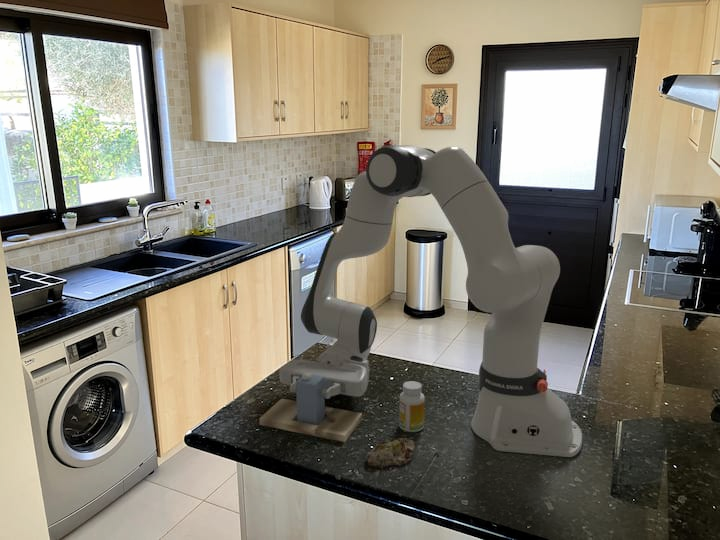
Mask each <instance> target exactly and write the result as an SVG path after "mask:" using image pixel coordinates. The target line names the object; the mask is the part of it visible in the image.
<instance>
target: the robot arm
mask: <svg viewBox="0 0 720 540" xmlns="http://www.w3.org/2000/svg"><path fill="white" fill-rule="evenodd" d="M429 195H431V196H433V197H434V199H435V201H436V202H437V204H438V206H439V208H440V209H441V210H442V213H443V215H444V217H445V218H446V219H447V221H448V223H449V225H450V226H451V227H452V230H453V231H454V233H455V235H456V237H457V239H458V240H459V243H460V246H461V247H462V251H463V254H464V257H465V263H466V266H467V276H466V280H465V290H466V294H467V297H468V299H469V301H470V302H471V303H472V305H474V307H475V308H477V309H478V310H480V311H482V312H484V313H489V314H491V315H490V317H489V319H488V321H487V323H486V325H485V327H484V331H483V343H482V344H483V345H482V362H481V363H480V365H479V370H478V391H479V393H478V399H477V402H476V403H477V404H476V408H475V412H474V415H473V418H472V420H471V422H470V426H471V429H472V431H473V432H474V433H475V434H476V435H477V436H478V437H479V438H481V439H483V441H486V442H487V443H489V445H490V446H491V447H492V448H493V449H494V450H496V451H498V452H507V453H517V454H518V453H519V454H528V455H541V456H551V457H564V458H573V457H575V456H576V455H577V454H578V453H579V452H580V451H581V449H582V446H583V434H582V430H581V428H580V426H579V425H578V424H577V423H576V422H575V421H573V420H572V415H571V411H570V408H569V405H568V404H567V403H566V401H565V400H564V399H562V398H560V396H558V395H557V394H555V393H554V392H553V391H552V390H550V388H548V385H549V383H548V381H547V378H548V376H547V372H546V369H543V371H542V370H541V369H540V368H539V367H538V360H539V359H538V358H539V348H540V337H541V333H542V329H543V324H544V321H545V317H546V314H547V311H548V307H549V304H550V300H551V296H552V292H553V289H554V287H555V285H556V284H557V281H558V279H559V277H560V274H561V266H560V265H561V264H560V260H559V258H558V257H557V255H556V254H555V253H554V251H552V250H551V249H550V248H548V247H545V246H543V245H534V244H524V245H521V246H518V247H515V245H514V242H513V239H512V236H511V234H510V233H511V232H510V230H509V223H508V222H509V217H510V216H509V212H508V210H507V208H506V206H504V204H503V202H502V200H501V199H500V197H499V195H498V194H497V193H496V191H495V189H494V188H493V186H492V185H491V183H490V181H489V180H488V179H487V177H486V176H485V174H484V173H483V171H482V170H481V169H480V167H479V165H478V164H476V162H475V161H474V160H473V158H472V157H470V156H469V155H468V153H467V152H466V151H465V150H463V148H461V147H457V146H449V147H444V148H441V149H440V150H439V149H438V151H435V150H433V149H431V148H427V147H426V148H424V147H418V146H415V145H411V144H410V145H409V144H406V145H405V144H404V145H403V144H402V145H399V144H398V145H397V144H389V145H384V146H381V147H380V148H377V149H375V150H374V152H373V153H372V154H371V155H370V156H369V158H368V159H367V163H366V167H365V170H364V171H363V172H361V173H359V174H357V176H356V177H355V180H354V182H353V185H352V188H351V191H350V195H349V198H348V201H347V206H346V212H345V215H344V216H345V217H344V221H343V223H342V225H341V227H340V229H339V230H338V231H337V232H335V233H332V234H331V235H330V236H329V238H328V239H327V242H326V243H325V245H324V248H323V250H322V253H321V257H320V260H319V262H318V266H317V268H316V271H315V274H314V277H313V281H312V283H311V288H310V290H309V292H308V294H307V297H306V299H305V302H304V304H303V307H302V309H301V312H300V313H301V314H300V321H301V323H302V325H303V326H304V328H305V329H306V331H307V332H308V333H309V334H314V335H318V336H319V335H320V336H325V337H329V338H332V339H335V342H333V344H332V345H331V346H329V347H328V348H327V349H325V350H324V351H323V352H322V353H321V354H320V355H319V356H318V357H317V358H316V359H315V361H314V360H313V361H312V360H308V359H294V360H292V361H289V362H288V363H286V364H284V365H283V366H281V367H280V368H279V371H278V372H279V374H278V375H279V381H280V383H281V384H282V385H287V386H289V392H290V393H294V394H296V382H297V381H298V380H299V379H300V378H301V377H302V375H303V374H305V373H310V374H312V375H318V376H324V389H323V390H322V398H325V400H329V399H330V398H331V397H335V396H337V395H345V396H349V397H355V398H356V397H361V396H363V395H364V394H365V393H366V391H367V389H368V386H369V379H370V367H369V360H368V357H369V355H370V353H371V350H372V345H373V344H374V341H375V340H376V339H375V338H376V335H377V330H378V329H377V328H378V322H377V321H378V320H377V317H376V315H375V313H374V311H373V310H372V308H371V307H370V306H367V305H364V304H360V303H356V302H353V301H348V300H344V299H341V298H338V297H334V296H332V294H331V289H332V286H333V283H334V280H335V277H336V274H337V270H338V268H339V265H340V264H341V263H342V262H343V261H345V260H349V259H357V258H364V257H368V256H371V255H375V254H376V253H378V252H380V251H382V249H384V247H386V246H387V244H388V242H389V239H390V236H391V232H392V227H393V222H394V215H395V210H396V209H395V208H396V207H397V204H398V202H399V201H400V200H401V199H402V198H404V197H405V198H415V197H425V196H429ZM336 339H337V340H336Z"/></svg>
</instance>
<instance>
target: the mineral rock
mask: <svg viewBox="0 0 720 540" xmlns="http://www.w3.org/2000/svg"><path fill="white" fill-rule="evenodd" d="M414 450H415V441H414V440H411V439H408V438H407V437H404V438H403V437H399V438H394V439H393V441H391V440H387V441H385V440H384V441H382V442H380V443H377V445H376V446H374V447H373V448H372V449H371V451H369V452H367V454H366V456H365V461H366V462H367V465H368V466H369V467H372V466H373V467H375V468H385V467H388V466H392V465H397V466H399V467H400V466H403V465H405V464H407V463H408V462H409V461H412V460H413V459H412V458H413V457H414Z"/></svg>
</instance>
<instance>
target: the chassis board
mask: <svg viewBox="0 0 720 540" xmlns="http://www.w3.org/2000/svg"><path fill="white" fill-rule="evenodd" d="M258 419H259V425H260V426H264V427H269V428H274V429H279V430H284V431H289V432H292V433H297V434H298V433H299V434H304V435H308V436H314V437H317V438H322V439H327V440H332V441H337V442H341V443H346V442H347V440H348V439H349V438H350V436H351V435H352V434H353V432H354V431H355V429H357V427H358V426H359V424H360V423H361V422H362V421H363V413H362V412H358V411H351V410H346V409H341V408H335V407H331V406H330V407H329V406H325V419H324V420H323V421H322V422H321V423H320V424H319V426H318V425H313V424H308V423H302V422H297V400H292V399H287V398H281V399H279V400H278V401H277V402H276V403H275V404H274V405H272V406H271V407H270V408H269V409H268V410H267V411H266V412H265V413H264V414H262V416H261V417H259V418H258Z"/></svg>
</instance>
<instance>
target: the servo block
mask: <svg viewBox="0 0 720 540" xmlns="http://www.w3.org/2000/svg"><path fill="white" fill-rule="evenodd" d="M323 389H324V376H318V375H312V374H310V373H305V374H303V375H302V377H301V378H300V379H299V380H298V381H297V382H296V393H295V394H296V401H297V422H302V423H308V424H313V425H318V426H319V424H320V423H321V422H322V421H323V420H324V419H325V407H326V404H325V403H326V401H325V400H326V398H322V390H323Z"/></svg>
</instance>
